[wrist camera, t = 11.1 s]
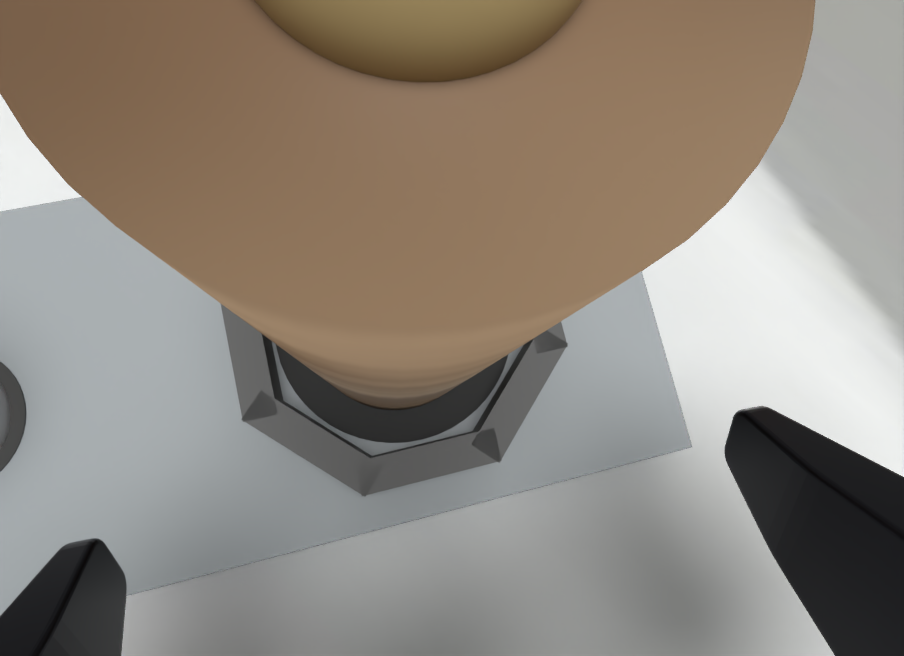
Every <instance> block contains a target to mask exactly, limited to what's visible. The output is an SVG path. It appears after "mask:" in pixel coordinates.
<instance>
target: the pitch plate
mask: <svg viewBox="0 0 904 656" xmlns="http://www.w3.org/2000/svg"><path fill="white" fill-rule="evenodd" d="M691 447H692V445H691V441H690V438H689V434H688V431H687V427H686V424H685V420H684V417H683V413H682V410H681V406H680V403H679V399H678V396H677V393H676V389H675V386H674V382H673V379H672V375H671V372H670V368H669V365H668V361H667V358H666V354H665V351H664V347H663V344H662V340H661V337H660V333H659V330H658V327H657V323H656V320H655V316H654V313H653V309H652V306H651V302H650V299H649V295H648V292H647V288H646V285H645V281H644V278H643V274H642V271H641V272H639V273H638V274H636V275H634V276H633V277H631V278H630V279H628V280H626V281H625V282H623V283H622V284H620V285H618V286H617V287H615V288H614V289H612V290H610V291H609V292H607V293H606V294H604V295H602V296H601V297H599V298H598V299H596V300H594V301H593V302H591V303H590V304H588V305H586V306H585V307H583V308H582V309H580V310H578V311H577V312H575V313H574V314H572V315H570V316H569V317H567V318H566V319H564V320H562V321H561V322H559V323H558V324H556V325H554V326H553V327H551V328H549V329H548V330H546V331H545V332H543V333H541V334H540V335H538V336H537V337H535V338H533V339H532V340H530V341H529V342H527V343H525V344H524V345H522V346H521V347H519V348H517V349H516V350H514V351H513V352H511V353H509V354H508V355H506V356H505V357H503V358H501V359H500V360H498V361H497V362H495V363H493V364H492V365H490V366H489V367H487V368H485V369H484V370H482V371H481V372H479V373H477V374H476V375H474V376H473V377H471V378H469V379H468V380H466V381H465V382H463V383H461V384H460V385H458V386H457V387H455V388H453V389H452V390H450V391H448V392H447V393H445V394H444V395H442V396H440V397H439V398H437V399H435V400H433V401H431V402H429V403H427V404H424V405H422V406H419V407H415V408H410V409H405V410H383V409H378V408H373V407H369V406H366V405H363V404H361V403H359V402H357V401H355V400H353V399H351V398H349V397H348V396H346V395H345V394H343V393H342V392H340V391H339V390H338V389H336V388H335V387H334V386H332V385H331V384H330V383H328V382H327V381H325V380H324V379H323V378H321V377H320V376H319V375H317V374H316V373H315V372H313V371H312V370H310V369H309V368H308V367H306V366H305V365H304V364H302V363H301V362H300V361H298V360H297V359H296V358H294V357H293V356H291V355H290V354H289V353H287V352H286V351H285V350H283V349H282V348H281V347H279V346H278V345H277V344H275V343H274V342H272V341H271V340H270V339H268V338H267V337H266V336H264V335H263V334H262V333H260V332H259V331H257V330H256V329H255V328H253V327H252V326H251V325H249V324H248V323H247V322H245V321H244V320H243V319H241V318H240V317H238V316H237V315H236V314H234V313H233V312H232V311H230V310H229V309H228V308H226V307H225V306H223V305H222V304H221V303H219V302H218V301H217V300H215V299H214V298H213V297H211V296H210V295H209V294H207V293H206V292H204V291H203V290H202V289H200V288H199V287H198V286H196V285H195V284H194V283H192V282H191V281H189V280H188V279H187V278H185V277H184V276H183V275H181V274H180V273H179V272H177V271H176V270H175V269H173V268H172V267H170V266H169V265H168V264H166V263H165V262H164V261H162V260H161V259H160V258H158V257H157V256H155V255H154V254H153V253H151V252H150V251H149V250H147V249H146V248H145V247H143V246H142V245H141V244H139V243H138V242H136V241H135V240H134V239H132V238H131V237H130V236H128V235H127V234H126V233H124V232H123V231H121V230H120V229H119V228H117V227H116V226H115V225H114V224H112V223H111V222H110V221H109V220H108V219H107V218H106V217H105V216H103V215H102V214H101V213H100V212H99V211H98V210H97V209H96V208H94V207H93V206H92V205H91V204H90V203H89V202H88V201H87V200H85V199H84V198H83V197H80V198H74V199H68V200H63V201H57V202H52V203H46V204H40V205H35V206H29V207H24V208H18V209H12V210H7V211H1V212H0V615H1V614H2V613H3V612H4V611H5V610H6V609H7V607H8V606H9V605H10V604H11V603H12V602H13V601H14V600H15V598H16V597H17V596H18V595H19V594H20V593H21V592H22V591H23V589H24V588H25V587H26V586H27V585H28V584H29V583H30V582H31V580H32V579H33V578H34V577H35V576H36V575H37V574H38V573H39V571H40V570H41V569H42V568H43V567H44V566H45V565H46V564H47V562H48V561H49V560H50V559H51V558H52V557H53V556H54V554H55V553H56V552H57V551H58V550H59V549H60V548H61V547H63V546H64V545H66V544H68V543H71V542H76V541H81V540H86V539H91V538H98V539H100V540H102V541H103V542H104V543H105V544H106V546H107V547H108V549H109V550H110V552H111V553H112V555H113V556H114V558H115V559H116V561H117V562H118V564H119V565H120V567H121V568H122V570H123V572H124V574H125V577H126V583H127V593H126V596H128V595H132V594H136V593H139V592H143V591H147V590H151V589H155V588H158V587H162V586H166V585H170V584H174V583H177V582H181V581H185V580H189V579H193V578H196V577H200V576H204V575H208V574H212V573H215V572H219V571H223V570H227V569H231V568H234V567H238V566H242V565H246V564H250V563H253V562H257V561H261V560H265V559H269V558H272V557H276V556H280V555H284V554H288V553H291V552H295V551H299V550H303V549H307V548H310V547H314V546H318V545H322V544H326V543H329V542H333V541H337V540H341V539H345V538H348V537H352V536H356V535H360V534H364V533H367V532H371V531H375V530H379V529H383V528H387V527H390V526H394V525H398V524H402V523H406V522H409V521H413V520H417V519H421V518H425V517H428V516H432V515H436V514H440V513H444V512H447V511H451V510H455V509H459V508H463V507H466V506H470V505H474V504H478V503H482V502H485V501H489V500H493V499H497V498H501V497H504V496H508V495H512V494H516V493H520V492H523V491H527V490H531V489H535V488H539V487H542V486H546V485H550V484H554V483H558V482H561V481H565V480H569V479H573V478H577V477H580V476H584V475H588V474H592V473H596V472H599V471H603V470H607V469H611V468H615V467H618V466H622V465H626V464H630V463H634V462H637V461H641V460H645V459H649V458H653V457H656V456H660V455H664V454H668V453H672V452H675V451H679V450H683V449H687V448H691Z"/></svg>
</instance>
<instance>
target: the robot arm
mask: <svg viewBox="0 0 904 656" xmlns="http://www.w3.org/2000/svg"><path fill="white" fill-rule="evenodd" d="M725 458H726V462H727V464H728V466H729V468H730V470H731V473H732V475H733V477H734V479H735V481H736V483H737V485H738V487H739V489H740V491H741V493H742V495H743V497H744V499H745V501H746V503H747V505H748V507H749V509H750V511H751V513H752V515H753V517H754V519H755V521H756V523H757V525H758V527H759V529H760V531H761V533H762V535H763V537H764V540H765V541H766V543H767V545H768V547H769V549H770V551H771V553H772V555H773V556H774V558H775V560H776V561H777V563H778V565H779V566H780V568H781V570H782V571H783V573H784V575H785V576H786V578H787V579H788V581H789V583H790V584H791V586H792V587H793V589H794V591H795V592H796V594H797V595H798V597H799V599H800V600H801V602H802V603H803V605H804V607H805V608H806V610H807V611H808V613H809V615H810V616H811V618H812V619H813V621H814V623H815V624H816V626H817V627H818V629H819V631H820V632H821V634H822V635H823V637H824V639H825V640H826V642H827V643H828V645H829V647H830V648H831V650H832V651H833V653H834V655H835V656H904V477H902V476H901V475H899V474H897V473H895V472H893V471H891V470H889V469H887V468H885V467H883V466H881V465H879V464H877V463H875V462H873V461H871V460H869V459H868V458H866V457H864V456H862V455H860V454H858V453H856V452H854V451H852V450H850V449H848V448H846V447H844V446H842V445H840V444H838V443H836V442H835V441H833V440H831V439H829V438H827V437H825V436H823V435H821V434H819V433H817V432H815V431H813V430H811V429H809V428H807V427H805V426H803V425H802V424H800V423H798V422H796V421H794V420H792V419H790V418H788V417H786V416H784V415H782V414H780V413H778V412H776V411H774V410H772V409H770V408H768V407H764V406H758V407H753V408H748V409H743V410H739V411H738V412H737V413H736V414H735V415H734V417H733V420H732V424H731V427H730V431H729V434H728V438H727V441H726V445H725ZM126 593H127V583H126V577H125V574H124V572H123V570H122V568H121V567H120V565H119V564H118V562H117V561H116V559H115V558H114V556H113V555H112V553H111V552H110V550H109V549H108V547H107V546H106V544H105V543H104V542H103V541H102V540H100V539H98V538H91V539H86V540H81V541H76V542H71V543H68V544H66V545H64V546H63V547H61V548H60V549H59V550H58V551H57V552H56V553H55V554H54V556H53V557H52V558H51V559H50V560H49V561H48V562H47V564H46V565H45V566H44V567H43V568H42V569H41V570H40V571H39V573H38V574H37V575H36V576H35V577H34V578H33V579H32V580H31V582H30V583H29V584H28V585H27V586H26V587H25V588H24V589H23V591H22V592H21V593H20V594H19V595H18V596H17V597H16V598H15V600H14V601H13V602H12V603H11V604H10V605H9V606H8V607H7V609H6V610H5V611H4V612H3V613H2V614H1V615H0V656H121V650H122V639H123V627H124V616H125V604H126Z"/></svg>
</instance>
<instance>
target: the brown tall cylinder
mask: <svg viewBox="0 0 904 656" xmlns="http://www.w3.org/2000/svg"><path fill="white" fill-rule="evenodd" d="M814 9H815V0H0V94H1V95H2V97H3V99H4V100H5V102H6V103H7V105H8V106H9V108H10V110H11V111H12V113H13V114H14V116H15V118H16V119H17V121H18V122H19V124H20V125H21V127H22V129H23V130H24V132H25V133H26V135H27V137H28V138H29V139H30V140H31V141H32V143H33V144H34V145H35V146H36V147H37V148H38V150H39V151H40V152H41V153H42V154H43V155H44V157H45V158H46V159H47V160H48V161H49V162H50V164H51V165H52V166H53V167H54V168H55V170H56V171H57V172H58V173H59V174H60V175H61V177H62V178H63V179H64V180H65V181H66V182H67V184H68V185H70V186H71V187H72V188H73V189H74V190H75V191H76V192H77V193H79V194H80V195H81V196H82V197H83V198H84V199H85V200H87V201H88V202H89V203H90V204H91V205H92V206H93V207H94V208H96V209H97V210H98V211H99V212H100V213H101V214H102V215H103V216H105V217H106V218H107V219H108V220H109V221H110V222H111V223H112V224H114V225H115V226H116V227H117V228H119V229H120V230H121V231H123V232H124V233H126V234H127V235H128V236H130V237H131V238H132V239H134V240H135V241H136V242H138V243H139V244H141V245H142V246H143V247H145V248H146V249H147V250H149V251H150V252H151V253H153V254H154V255H155V256H157V257H158V258H160V259H161V260H162V261H164V262H165V263H166V264H168V265H169V266H170V267H172V268H173V269H175V270H176V271H177V272H179V273H180V274H181V275H183V276H184V277H185V278H187V279H188V280H189V281H191V282H192V283H194V284H195V285H196V286H198V287H199V288H200V289H202V290H203V291H204V292H206V293H207V294H209V295H210V296H211V297H213V298H214V299H215V300H217V301H218V302H219V303H221V304H222V305H223V306H225V307H226V308H228V309H229V310H230V311H232V312H233V313H234V314H236V315H237V316H238V317H240V318H241V319H243V320H244V321H245V322H247V323H248V324H249V325H251V326H252V327H253V328H255V329H256V330H257V331H259V332H260V333H262V334H263V335H264V336H266V337H267V338H268V339H270V340H271V341H272V342H274V343H275V344H277V345H278V346H279V347H281V348H282V349H283V350H285V351H286V352H287V353H289V354H290V355H291V356H293V357H294V358H296V359H297V360H298V361H300V362H301V363H302V364H304V365H305V366H306V367H308V368H309V369H310V370H312V371H313V372H315V373H316V374H317V375H319V376H320V377H321V378H323V379H324V380H325V381H327V382H328V383H330V384H331V385H332V386H334V387H335V388H336V389H338V390H339V391H340V392H342V393H343V394H345V395H346V396H348V397H349V398H351V399H353V400H355V401H357V402H359V403H361V404H363V405H366V406H369V407H373V408H378V409H383V410H405V409H410V408H415V407H419V406H422V405H424V404H427V403H429V402H431V401H433V400H435V399H437V398H439V397H440V396H442V395H444V394H445V393H447V392H448V391H450V390H452V389H453V388H455V387H457V386H458V385H460V384H461V383H463V382H465V381H466V380H468V379H469V378H471V377H473V376H474V375H476V374H477V373H479V372H481V371H482V370H484V369H485V368H487V367H489V366H490V365H492V364H493V363H495V362H497V361H498V360H500V359H501V358H503V357H505V356H506V355H508V354H509V353H511V352H513V351H514V350H516V349H517V348H519V347H521V346H522V345H524V344H525V343H527V342H529V341H530V340H532V339H533V338H535V337H537V336H538V335H540V334H541V333H543V332H545V331H546V330H548V329H549V328H551V327H553V326H554V325H556V324H558V323H559V322H561V321H562V320H564V319H566V318H567V317H569V316H570V315H572V314H574V313H575V312H577V311H578V310H580V309H582V308H583V307H585V306H586V305H588V304H590V303H591V302H593V301H594V300H596V299H598V298H599V297H601V296H602V295H604V294H606V293H607V292H609V291H610V290H612V289H614V288H615V287H617V286H618V285H620V284H622V283H623V282H625V281H626V280H628V279H630V278H631V277H633V276H634V275H636V274H638V273H639V272H641V271H642V270H644V269H645V268H647V267H648V266H650V265H651V264H653V263H654V262H656V261H657V260H659V259H660V258H662V257H663V256H664V255H666V254H667V253H669V252H670V251H672V250H673V249H675V248H676V247H678V246H679V245H681V244H682V243H683V242H685V241H686V240H688V239H689V238H690V237H691V236H692V235H693V234H694V233H695V232H697V231H698V230H699V229H700V228H701V227H702V226H703V225H704V224H705V223H706V222H707V221H709V220H710V219H711V218H712V217H713V216H714V215H715V214H716V213H717V212H718V211H719V210H720V209H722V208H723V207H724V206H725V205H726V204H727V203H728V202H729V200H730V199H731V198H732V197H733V195H734V194H735V193H736V192H737V190H738V189H739V188H740V187H741V185H742V184H743V183H744V182H745V181H746V179H747V178H748V177H749V176H750V174H751V173H752V172H753V171H754V169H755V168H756V167H757V166H758V164H759V163H760V161H761V159H762V158H763V156H764V154H765V153H766V151H767V149H768V147H769V146H770V144H771V142H772V141H773V139H774V137H775V136H776V134H777V132H778V130H779V129H780V127H781V125H782V124H783V122H784V119H785V117H786V114H787V112H788V110H789V107H790V105H791V102H792V100H793V97H794V95H795V92H796V90H797V87H798V85H799V82H800V80H801V77H802V73H803V69H804V65H805V61H806V56H807V52H808V48H809V44H810V40H811V35H812V31H813V20H814Z"/></svg>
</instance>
